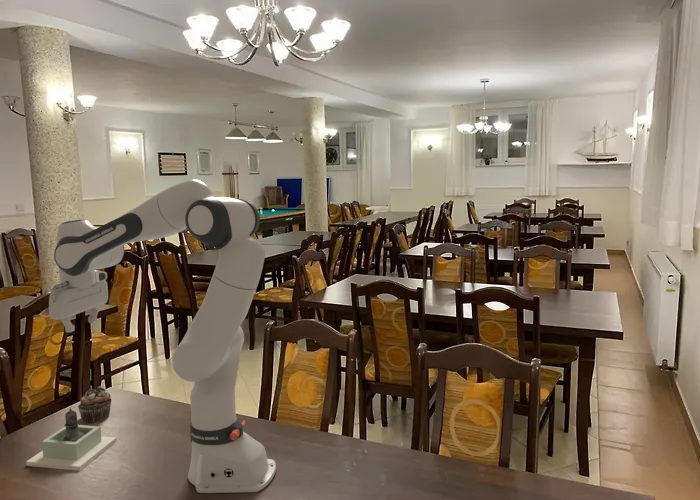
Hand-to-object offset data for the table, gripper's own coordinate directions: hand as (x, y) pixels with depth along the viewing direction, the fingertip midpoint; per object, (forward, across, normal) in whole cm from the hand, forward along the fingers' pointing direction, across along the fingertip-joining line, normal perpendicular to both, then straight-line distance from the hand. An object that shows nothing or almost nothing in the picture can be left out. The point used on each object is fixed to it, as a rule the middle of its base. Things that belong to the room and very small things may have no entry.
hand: (81, 327), depth 150 cm
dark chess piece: (+34, -5, +2) cm, 34 cm away
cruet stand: (+35, -5, +2) cm, 35 cm away
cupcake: (+35, +16, +10) cm, 40 cm away
